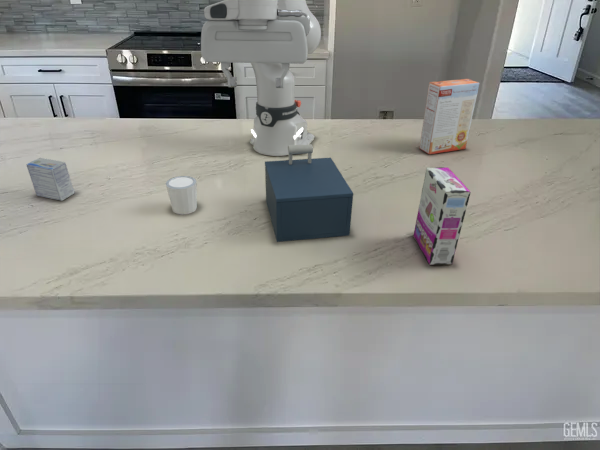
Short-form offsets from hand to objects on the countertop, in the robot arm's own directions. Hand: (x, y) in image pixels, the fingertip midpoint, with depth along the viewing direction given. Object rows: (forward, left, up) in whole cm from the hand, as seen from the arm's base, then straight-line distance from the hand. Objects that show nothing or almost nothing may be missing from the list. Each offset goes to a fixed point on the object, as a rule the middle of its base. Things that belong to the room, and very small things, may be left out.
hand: (256, 87), depth 87 cm
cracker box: (-63, +29, -30) cm, 75 cm away
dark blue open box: (-4, +10, -29) cm, 31 cm away
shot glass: (+6, -17, -30) cm, 35 cm away
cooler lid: (-4, +9, -20) cm, 22 cm away
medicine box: (+16, -49, -30) cm, 60 cm away
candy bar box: (-5, +39, -30) cm, 49 cm away
